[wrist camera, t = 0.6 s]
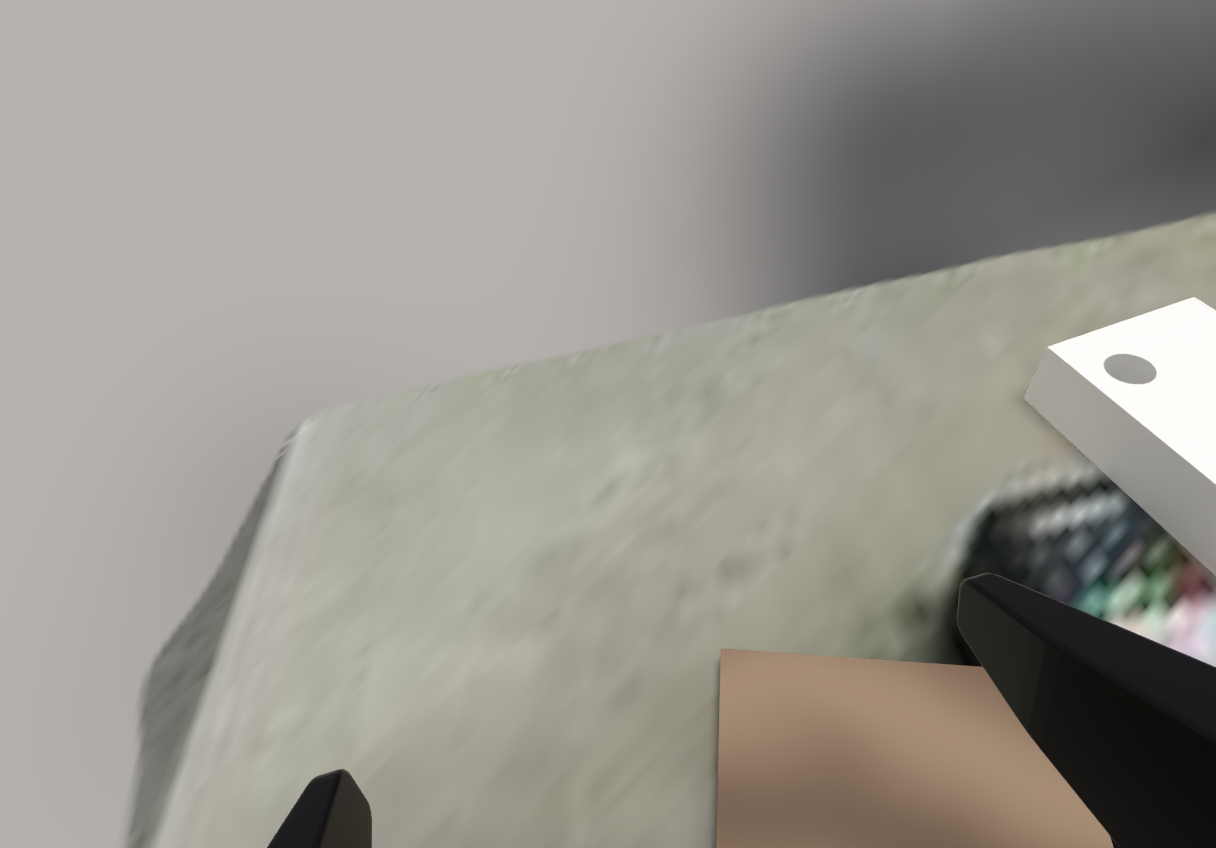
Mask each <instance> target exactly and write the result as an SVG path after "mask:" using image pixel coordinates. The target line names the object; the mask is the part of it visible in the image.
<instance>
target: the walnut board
mask: <svg viewBox="0 0 1216 848" xmlns="http://www.w3.org/2000/svg"><path fill="white" fill-rule="evenodd" d="M716 848H1113V844H1112V841H1111V838H1110V835H1109V834H1108V833H1107V831H1106V830H1105V829H1104V828H1103V826H1102V825H1101V824H1100V823H1099V821H1098V820H1097V819H1096V818H1095V816H1094V815H1093V814H1092V813H1091V811H1090V810H1089V809H1088V808H1087V806H1086V805H1085V804H1084V803H1083V802H1082V800H1081V799H1080V798H1079V797H1078V795H1077V794H1076V793H1075V792H1074V790H1073V789H1072V788H1071V787H1070V785H1069V784H1068V783H1067V782H1066V780H1065V779H1064V778H1063V777H1062V776H1061V774H1060V773H1059V772H1058V771H1057V769H1056V768H1055V767H1054V766H1053V764H1052V763H1051V762H1050V761H1049V759H1048V758H1047V757H1046V756H1045V754H1044V753H1043V752H1042V751H1041V750H1040V748H1039V747H1038V746H1037V744H1036V743H1035V742H1034V741H1033V739H1032V738H1031V737H1030V735H1029V734H1028V733H1027V731H1026V730H1025V729H1024V727H1023V726H1022V724H1021V723H1020V721H1019V720H1018V719H1017V717H1016V716H1015V714H1014V713H1013V711H1012V710H1011V708H1010V707H1009V705H1008V704H1007V702H1006V701H1005V699H1004V698H1003V696H1002V695H1001V693H1000V692H999V690H998V689H997V687H996V686H995V684H994V683H993V681H992V680H991V678H990V677H989V675H988V674H987V672H986V671H985V669H984V668H983V667H976V666H961V665H947V664H933V663H919V662H904V661H890V660H876V659H862V658H848V657H833V656H819V655H805V654H791V653H777V652H762V651H748V650H734V649H721V658H720V702H719V746H718V791H717V835H716Z"/></svg>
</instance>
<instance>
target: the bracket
mask: <svg viewBox="0 0 1216 848" xmlns="http://www.w3.org/2000/svg"><path fill="white" fill-rule="evenodd" d="M1023 399H1024V400H1025V401H1026V402H1028V403H1029V404H1030V405H1031V406H1032V407H1033V408H1034V409H1035V410H1036V411H1037V412H1038V413H1039V414H1041V415H1042V416H1043V417H1044V418H1045V419H1046V420H1047V421H1048V422H1049V423H1050V424H1051V425H1052V426H1054V427H1055V428H1056V429H1057V430H1058V431H1059V432H1060V433H1061V434H1062V435H1063V436H1064V437H1065V438H1067V439H1068V440H1069V441H1070V442H1071V443H1072V444H1073V445H1074V446H1075V447H1076V448H1077V449H1078V450H1080V451H1081V452H1082V453H1083V454H1084V455H1085V456H1086V457H1087V458H1088V459H1089V460H1090V461H1091V462H1093V463H1094V464H1095V465H1096V466H1097V467H1098V468H1099V469H1100V470H1101V471H1102V472H1103V473H1104V474H1106V475H1107V476H1108V477H1109V478H1110V479H1111V480H1112V481H1113V482H1114V483H1115V484H1116V485H1117V486H1119V487H1120V488H1121V489H1122V490H1123V491H1124V492H1125V493H1126V494H1127V495H1128V496H1129V497H1130V498H1132V499H1133V500H1134V501H1135V502H1136V503H1137V504H1138V505H1139V506H1140V507H1141V508H1142V509H1143V510H1145V511H1146V512H1147V513H1148V514H1149V515H1150V516H1151V517H1152V518H1153V519H1154V520H1155V521H1156V522H1158V523H1159V524H1160V525H1161V526H1162V527H1163V528H1164V529H1165V530H1166V531H1167V532H1168V533H1169V534H1171V535H1172V536H1173V537H1174V538H1175V539H1176V540H1177V541H1178V542H1179V543H1180V544H1181V545H1182V546H1184V547H1185V548H1186V549H1187V550H1188V551H1189V552H1190V553H1191V554H1192V555H1193V556H1194V557H1195V558H1197V559H1198V560H1199V561H1200V562H1201V563H1202V564H1203V565H1204V566H1205V567H1206V568H1207V569H1208V570H1209V571H1211V572H1212V573H1213V574H1214V575H1215V576H1216V310H1214V309H1213V308H1211V307H1209V306H1208V305H1206V304H1205V303H1203V302H1201V301H1200V300H1198V299H1196V298H1195V297H1193V298H1190V299H1187V300H1184V301H1181V302H1178V303H1175V304H1172V305H1169V306H1166V307H1163V308H1160V309H1157V310H1154V311H1152V312H1149V313H1146V314H1143V315H1140V316H1137V317H1134V318H1131V319H1128V320H1125V321H1122V322H1119V323H1116V324H1113V325H1110V326H1108V327H1105V328H1102V329H1099V330H1096V331H1093V332H1090V333H1087V334H1084V335H1081V336H1078V337H1075V338H1072V339H1069V340H1066V341H1063V342H1061V343H1058V344H1055V345H1052V346H1049V347H1047V349H1046V351H1045V353H1044V355H1043V358H1042V360H1041V362H1040V364H1039V366H1038V368H1037V370H1036V373H1035V375H1034V377H1033V379H1032V381H1031V383H1030V385H1029V388H1028V390H1027V392H1026V394H1025V396H1024V398H1023Z"/></svg>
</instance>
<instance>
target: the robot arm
mask: <svg viewBox="0 0 1216 848" xmlns="http://www.w3.org/2000/svg"><path fill="white" fill-rule="evenodd" d="M957 623H958V627H959V630H960V632H961V634H962V636H963V638H964V639H965V641H966V642H967V644H968V645H969V647H970V648H971V650H972V651H973V653H974V654H975V656H976V657H977V659H978V660H979V662H980V663H981V665H982V666H983V668H984V669H985V671H986V672H987V674H988V675H989V677H990V678H991V680H992V681H993V683H994V684H995V686H996V687H997V689H998V690H999V692H1000V693H1001V695H1002V696H1003V698H1004V699H1005V701H1006V702H1007V704H1008V705H1009V707H1010V708H1011V710H1012V711H1013V713H1014V714H1015V716H1016V717H1017V719H1018V720H1019V721H1020V723H1021V724H1022V726H1023V727H1024V729H1025V730H1026V731H1027V733H1028V734H1029V735H1030V737H1031V738H1032V739H1033V741H1034V742H1035V743H1036V744H1037V746H1038V747H1039V748H1040V750H1041V751H1042V752H1043V753H1044V754H1045V756H1046V757H1047V758H1048V759H1049V761H1050V762H1051V763H1052V764H1053V766H1054V767H1055V768H1056V769H1057V771H1058V772H1059V773H1060V774H1061V776H1062V777H1063V778H1064V779H1065V780H1066V782H1067V783H1068V784H1069V785H1070V787H1071V788H1072V789H1073V790H1074V792H1075V793H1076V794H1077V795H1078V797H1079V798H1080V799H1081V800H1082V802H1083V803H1084V804H1085V805H1086V806H1087V808H1088V809H1089V810H1090V811H1091V813H1092V814H1093V815H1094V816H1095V818H1096V819H1097V820H1098V821H1099V823H1100V824H1101V825H1102V826H1103V828H1104V829H1105V830H1106V831H1107V833H1108V834H1109V835H1110V836H1111V837H1112V839H1113V840H1114V841H1115V842H1116V844H1117V845H1118V846H1119V847H1120V848H1216V667H1214V666H1212V665H1209V664H1207V663H1205V662H1202V661H1200V660H1197V659H1195V658H1193V657H1190V656H1188V655H1186V654H1183V653H1181V652H1178V651H1176V650H1174V649H1171V648H1169V647H1167V646H1164V645H1162V644H1160V643H1157V642H1155V641H1152V640H1150V639H1148V638H1145V637H1143V636H1141V635H1138V634H1136V633H1134V632H1131V631H1129V630H1126V629H1124V628H1122V627H1119V626H1117V625H1115V624H1112V623H1110V622H1107V621H1105V620H1103V619H1100V618H1098V617H1096V616H1093V615H1091V614H1089V613H1086V612H1084V611H1081V610H1079V609H1077V608H1074V607H1072V606H1070V605H1067V604H1065V603H1063V602H1060V601H1058V600H1055V599H1053V598H1051V597H1048V596H1046V595H1044V594H1041V593H1039V592H1036V591H1034V590H1032V589H1029V588H1027V587H1025V586H1022V585H1020V584H1018V583H1015V582H1013V581H1010V580H1008V579H1006V578H1003V577H1001V576H999V575H996V574H992V573H984V574H981V575H977V576H974V577H971V578H967V579H965V580H964V581H963V582H962V583H961V585H960V592H959V602H958V611H957ZM267 848H372V817H371V810H370V806H369V803H368V801H367V799H366V798H365V796H364V795H363V793H362V792H361V790H360V789H359V787H358V785H357V784H356V782H355V781H354V779H353V778H352V776H351V775H350V773H349V772H348V771H346V770H344V769H339V770H335V771H332V772H329V773H326V774H322V775H319V776H317V777H315V778H314V779H313V780H312V781H311V782H310V783H309V784H308V785H307V787H306V788H305V790H304V791H303V793H302V794H301V796H300V798H299V799H298V801H297V802H296V804H295V805H294V807H293V808H292V810H291V812H290V813H289V815H288V816H287V818H286V819H285V821H284V822H283V824H282V825H281V827H280V829H279V830H278V832H277V833H276V835H275V836H274V838H273V839H272V841H271V842H270V844H269V846H268V847H267Z"/></svg>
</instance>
